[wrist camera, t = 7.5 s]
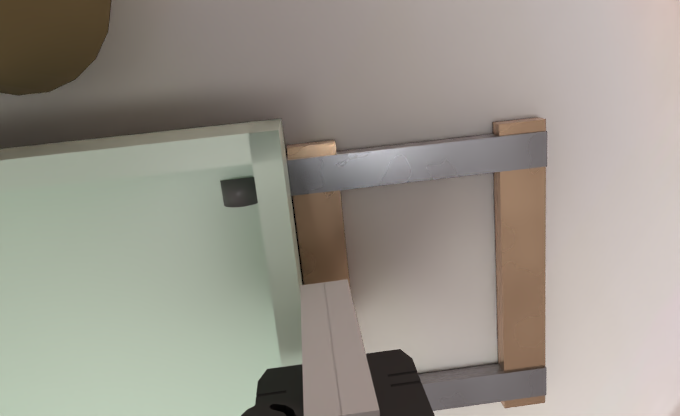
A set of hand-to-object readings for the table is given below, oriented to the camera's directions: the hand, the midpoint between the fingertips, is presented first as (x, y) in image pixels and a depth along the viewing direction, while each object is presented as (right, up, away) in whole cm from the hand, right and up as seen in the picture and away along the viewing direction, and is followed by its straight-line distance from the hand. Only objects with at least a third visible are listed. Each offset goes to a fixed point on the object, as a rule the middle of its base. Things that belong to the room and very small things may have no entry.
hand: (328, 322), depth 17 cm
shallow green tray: (-7, 0, +2) cm, 8 cm away
